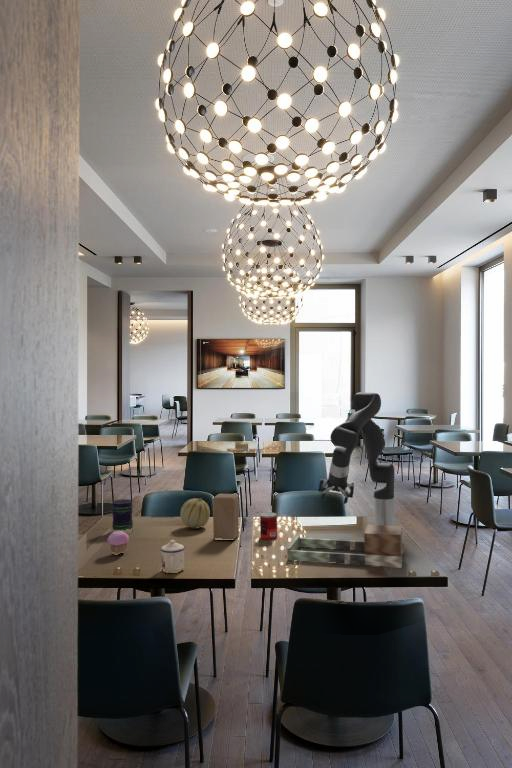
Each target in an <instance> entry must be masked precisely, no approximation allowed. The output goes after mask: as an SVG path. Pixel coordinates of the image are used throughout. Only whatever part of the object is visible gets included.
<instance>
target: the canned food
mask: <svg viewBox="0 0 512 768" xmlns="http://www.w3.org/2000/svg"><path fill="white" fill-rule="evenodd" d="M277 516H278V514H277V513H276V512H263V513H262V512H261V513H260V515H259V523H260V524H259V526H260V528H259V530H260V531H259V532H260V540H261V539H262V540H264V541H273V540H275V539H277V537H278V517H277Z"/></svg>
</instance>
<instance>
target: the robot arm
mask: <svg viewBox="0 0 512 768" xmlns="http://www.w3.org/2000/svg"><path fill="white" fill-rule="evenodd" d="M352 400H353V402H352V403H353V408H354V412H353V413H352V414H350V415H349V416H347V418H346V420H345V421H344V422H343V423H341V424H338V425H337V426H335V428H333V430H332V431H331V433H330V442H331V443H332V444H333V445H335V446H337V447H335V448H334V449H333V452H332V456H331V457H332V458H331V461H330V466H329V472H328V478H324V477H323V476H321V477H320V481H319V484H318V490H317V491H318V492H321V499H322V500H323V501H325V500H326V495H327V493H328V492H330V491H333V492H338V493H341V495H343V497H344V499H343V505H346V504H347V503H348V500H349V498H351V499H352V498H353V497H354V491H355V490H354V489H355V483H354V482H351V483H348V477H349V472H350V462H351V456H352V454H353V452H354V449H356V446H357V445H358V443H359V440H360V439H359V434H360V432H361V437H362V442H363V445H364V448H365V449H364V450H365V453H366V457H367V464H368V471H369V476H370V480H371V481H372V482H373V483H376V484H385V486H384V487H383V488H380V489H376V490H375V491H373V519H374V520H373V522H374V524H373V525H384V526H397V514H396V513H395V467H394V465H393V464H392V463H389V462H386V463H384V462H378V461H377V460H378V458H379V456H380V455H381V454H382V453H383V451H384V448H385V445H386V442H385V438H384V432H383V430H382V429H381V428H380V427H379V425H378V424H377V423H375V422H374V421H373V420H372V419H373V418H374V417H375V416H376V415H377V414H378V413H379V412H380V409H381V407H382V400H381V395H380V394H379V393H376V392H357V393H354V396H353V399H352ZM325 484H326V485H325ZM323 485H324V487H323ZM347 488H348V490H349V491H348V490H347Z"/></svg>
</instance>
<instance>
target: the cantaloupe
mask: <svg viewBox="0 0 512 768" xmlns="http://www.w3.org/2000/svg"><path fill="white" fill-rule="evenodd" d="M210 516H211V510H210V506H209V504H208V503H207V501H205V500H203V498H202V497H200V498H197V497H196V498H195V497H194V498H190V499H188V500H186V501H185V502H184V504H182V506H181V509H180V519H181V522H182V523H183V524H184V525H185V526H187V527H188V526H189V527H188V528H190V527H201V526H203V527H204V526H206V525H207V523H208V522H209V520H210ZM201 528H202V527H201Z"/></svg>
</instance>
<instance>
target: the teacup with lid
mask: <svg viewBox="0 0 512 768" xmlns="http://www.w3.org/2000/svg"><path fill="white" fill-rule="evenodd" d="M160 551H161V570H162V569H165V570H180V569H182V568H184V569H185V546H184V545H183V544H181V543H178V542H176V540H175V539H171V540H169V542H168V543H167V544H164V545H162V546H161V547H160Z"/></svg>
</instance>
